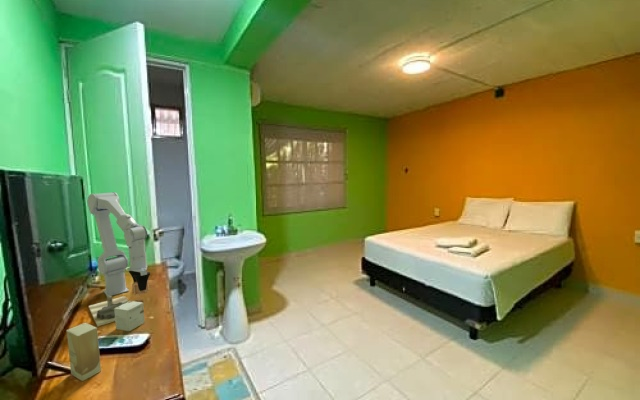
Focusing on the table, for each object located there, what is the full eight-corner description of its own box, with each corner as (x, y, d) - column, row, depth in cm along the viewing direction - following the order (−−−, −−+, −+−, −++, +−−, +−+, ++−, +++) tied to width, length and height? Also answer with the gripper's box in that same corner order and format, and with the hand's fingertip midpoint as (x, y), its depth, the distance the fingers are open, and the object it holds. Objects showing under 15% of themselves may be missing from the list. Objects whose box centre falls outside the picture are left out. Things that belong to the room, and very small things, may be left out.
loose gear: (131, 292, 119) (130, 282, 119) (146, 288, 123) (145, 279, 122) (135, 296, 115) (134, 286, 115) (150, 291, 119) (149, 282, 119)
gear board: (88, 308, 113) (87, 297, 112) (125, 298, 121) (124, 287, 121) (97, 326, 99) (96, 314, 98) (137, 313, 107) (136, 302, 107)
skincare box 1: (70, 374, 75) (64, 329, 74) (89, 364, 79) (85, 321, 78) (82, 382, 72) (77, 335, 71) (102, 371, 76) (97, 327, 75)
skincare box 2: (129, 331, 95) (127, 310, 94) (115, 329, 97) (113, 308, 96) (145, 322, 101) (143, 302, 100) (132, 320, 102) (130, 300, 102)
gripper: (122, 254, 120) (125, 286, 121) (130, 262, 110) (134, 296, 111) (141, 251, 125) (144, 281, 126) (151, 257, 115) (154, 290, 116)
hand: (140, 288), depth 119 cm, fingers closed on loose gear, 5 cm apart
